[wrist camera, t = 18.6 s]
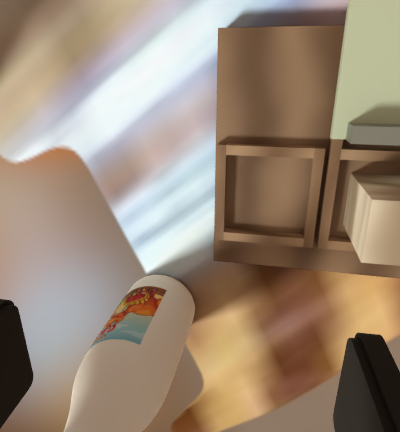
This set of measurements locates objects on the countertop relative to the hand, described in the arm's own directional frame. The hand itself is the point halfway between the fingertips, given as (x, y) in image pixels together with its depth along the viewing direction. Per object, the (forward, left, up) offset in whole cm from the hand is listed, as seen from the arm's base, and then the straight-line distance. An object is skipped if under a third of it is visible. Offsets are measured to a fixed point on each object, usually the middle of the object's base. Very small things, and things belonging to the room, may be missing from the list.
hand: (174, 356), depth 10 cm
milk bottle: (-8, -16, -25) cm, 31 cm away
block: (+11, -2, -23) cm, 25 cm away
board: (+7, +1, -25) cm, 25 cm away
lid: (+11, +8, -21) cm, 25 cm away
